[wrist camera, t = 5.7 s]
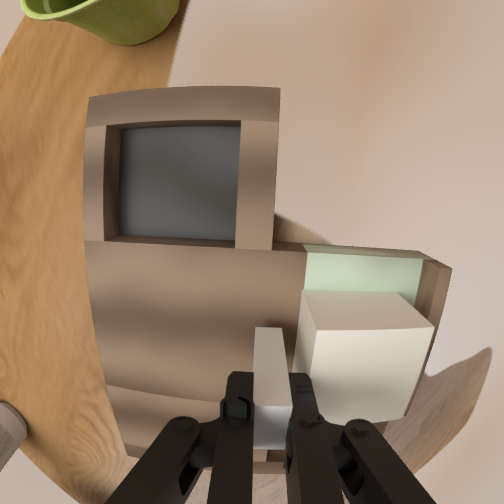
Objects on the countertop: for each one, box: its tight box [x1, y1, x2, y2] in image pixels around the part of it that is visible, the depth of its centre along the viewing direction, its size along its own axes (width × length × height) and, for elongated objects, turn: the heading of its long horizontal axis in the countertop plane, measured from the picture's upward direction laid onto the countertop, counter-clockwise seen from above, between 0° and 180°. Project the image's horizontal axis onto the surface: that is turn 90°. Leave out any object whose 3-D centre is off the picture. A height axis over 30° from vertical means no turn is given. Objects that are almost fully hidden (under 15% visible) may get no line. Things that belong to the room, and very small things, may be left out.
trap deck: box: [83, 86, 452, 474], centre depth 18 cm, size 29×22×4 cm
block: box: [292, 290, 435, 426], centre depth 15 cm, size 6×6×5 cm
